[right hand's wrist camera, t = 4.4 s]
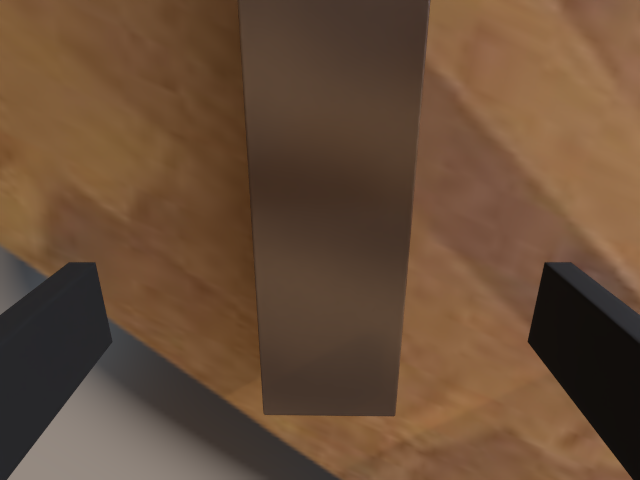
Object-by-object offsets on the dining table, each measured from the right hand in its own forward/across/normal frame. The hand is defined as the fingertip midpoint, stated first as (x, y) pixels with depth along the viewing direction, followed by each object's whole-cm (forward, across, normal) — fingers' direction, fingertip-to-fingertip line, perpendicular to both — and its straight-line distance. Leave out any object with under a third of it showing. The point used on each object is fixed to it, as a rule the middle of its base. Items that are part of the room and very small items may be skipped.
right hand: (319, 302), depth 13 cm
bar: (+9, 0, -28) cm, 29 cm away
